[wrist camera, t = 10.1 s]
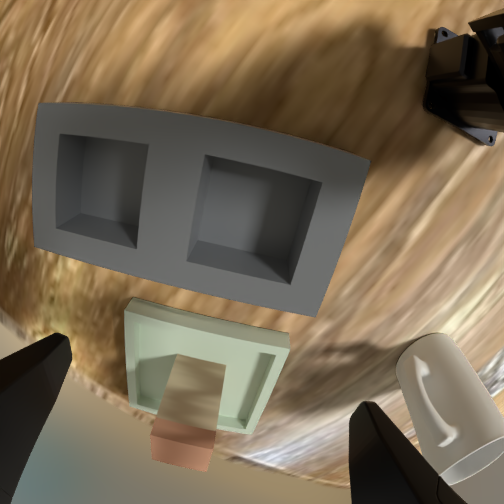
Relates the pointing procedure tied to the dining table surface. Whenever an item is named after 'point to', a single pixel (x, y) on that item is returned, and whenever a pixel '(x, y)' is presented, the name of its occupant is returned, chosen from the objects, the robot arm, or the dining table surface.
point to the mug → (449, 408)
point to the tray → (205, 348)
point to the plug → (188, 414)
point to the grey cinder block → (194, 201)
